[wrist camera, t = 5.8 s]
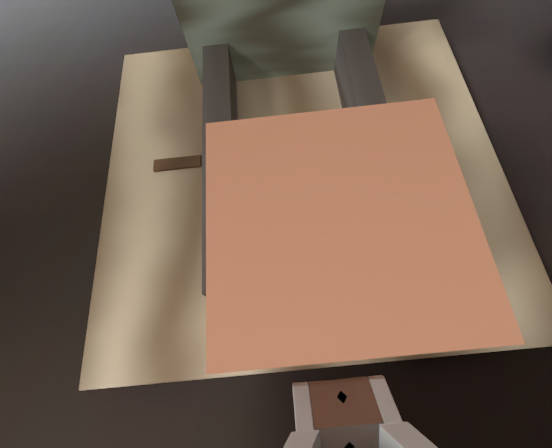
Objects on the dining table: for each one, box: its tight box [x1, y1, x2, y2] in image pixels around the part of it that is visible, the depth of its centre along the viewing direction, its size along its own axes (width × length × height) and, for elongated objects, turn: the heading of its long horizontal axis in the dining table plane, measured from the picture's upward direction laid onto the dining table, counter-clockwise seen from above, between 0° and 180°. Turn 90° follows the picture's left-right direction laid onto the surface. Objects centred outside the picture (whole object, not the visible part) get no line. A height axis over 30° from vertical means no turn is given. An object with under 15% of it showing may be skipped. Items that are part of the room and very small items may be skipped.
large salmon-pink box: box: [206, 98, 525, 374], centre depth 12 cm, size 6×6×10 cm
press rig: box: [79, 0, 552, 391], centre depth 16 cm, size 24×23×10 cm
